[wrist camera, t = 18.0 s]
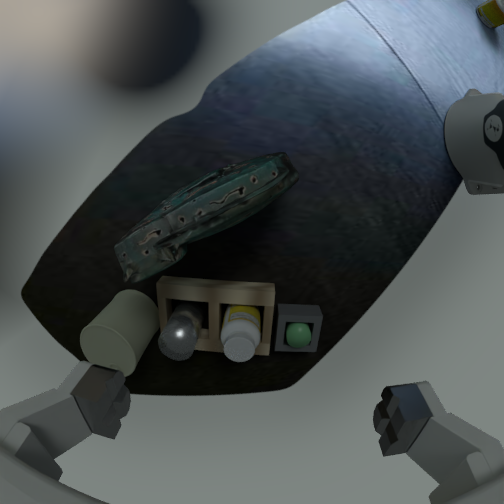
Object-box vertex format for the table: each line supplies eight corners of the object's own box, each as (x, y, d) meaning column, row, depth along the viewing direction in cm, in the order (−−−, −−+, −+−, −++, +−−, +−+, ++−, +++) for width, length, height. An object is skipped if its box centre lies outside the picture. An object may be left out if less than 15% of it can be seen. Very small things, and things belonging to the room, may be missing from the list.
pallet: (274, 283, 43) (275, 292, 40) (268, 344, 46) (268, 355, 43) (162, 275, 43) (156, 283, 40) (167, 335, 46) (162, 345, 44)
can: (129, 341, 47) (101, 383, 36) (103, 298, 45) (67, 333, 33) (170, 329, 46) (147, 374, 35) (143, 281, 44) (110, 318, 32)
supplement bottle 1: (243, 334, 46) (239, 372, 36) (218, 313, 45) (208, 349, 35) (267, 313, 44) (269, 350, 35) (242, 291, 43) (237, 324, 34)
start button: (310, 317, 43) (313, 327, 40) (306, 337, 44) (309, 348, 41) (286, 316, 43) (288, 327, 40) (284, 336, 44) (285, 347, 41)
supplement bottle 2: (492, 33, 27) (522, 21, 17) (473, 14, 26) (502, -2, 16) (495, 21, 25) (523, 9, 16) (477, 2, 25) (504, -13, 15)
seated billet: (206, 297, 44) (192, 332, 34) (206, 324, 45) (194, 362, 36) (176, 295, 44) (156, 328, 34) (178, 321, 45) (160, 357, 36)
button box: (318, 305, 44) (322, 316, 40) (312, 339, 46) (316, 351, 42) (277, 303, 44) (278, 314, 40) (274, 338, 46) (274, 350, 42)
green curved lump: (174, 248, 42) (113, 312, 23) (152, 210, 40) (74, 249, 21) (297, 183, 39) (332, 200, 20) (275, 141, 37) (289, 117, 18)
